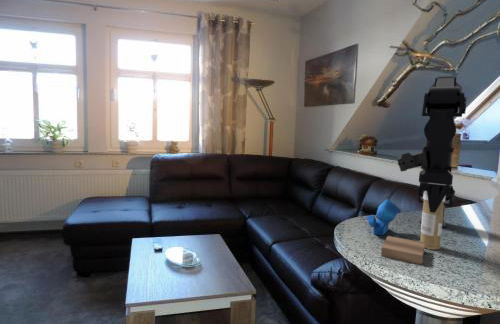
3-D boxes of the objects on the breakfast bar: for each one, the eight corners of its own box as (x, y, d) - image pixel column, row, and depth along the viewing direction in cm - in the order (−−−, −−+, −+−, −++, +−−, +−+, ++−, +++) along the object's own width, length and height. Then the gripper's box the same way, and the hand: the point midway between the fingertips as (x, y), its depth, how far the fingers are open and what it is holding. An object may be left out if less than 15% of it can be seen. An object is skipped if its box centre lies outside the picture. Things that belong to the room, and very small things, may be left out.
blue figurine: (363, 210, 85) (373, 192, 94) (362, 239, 88) (373, 219, 97) (394, 215, 81) (401, 196, 90) (392, 246, 84) (400, 224, 93)
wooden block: (387, 243, 80) (387, 235, 80) (424, 250, 76) (424, 242, 76) (381, 256, 73) (381, 247, 73) (421, 264, 69) (422, 255, 68)
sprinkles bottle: (444, 250, 77) (450, 194, 76) (427, 250, 77) (432, 194, 75) (431, 243, 82) (436, 190, 80) (414, 243, 81) (419, 190, 80)
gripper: (405, 139, 88) (400, 196, 90) (396, 142, 72) (391, 211, 74) (453, 141, 82) (447, 202, 84) (456, 145, 66) (448, 220, 68)
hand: (433, 208), depth 78 cm, fingers open, 8 cm apart
